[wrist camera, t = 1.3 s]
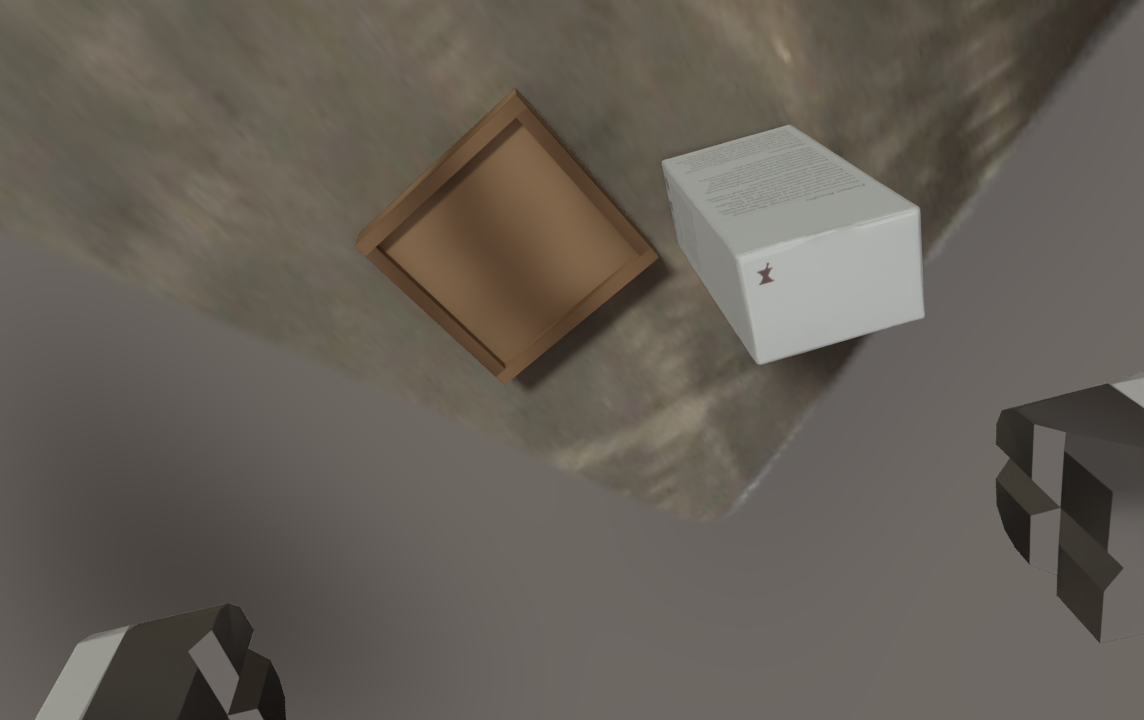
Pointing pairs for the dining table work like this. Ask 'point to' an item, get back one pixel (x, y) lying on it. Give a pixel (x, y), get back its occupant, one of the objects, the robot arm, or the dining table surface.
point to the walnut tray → (507, 240)
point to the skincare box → (795, 242)
